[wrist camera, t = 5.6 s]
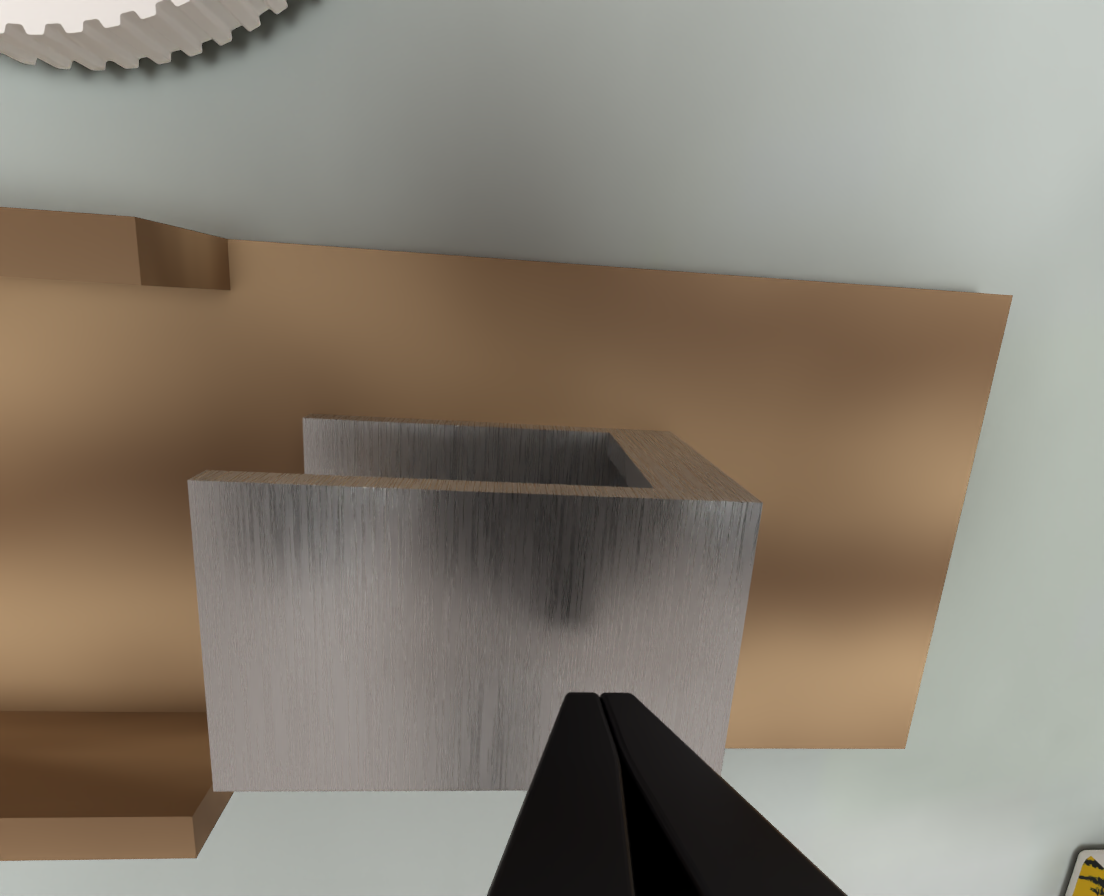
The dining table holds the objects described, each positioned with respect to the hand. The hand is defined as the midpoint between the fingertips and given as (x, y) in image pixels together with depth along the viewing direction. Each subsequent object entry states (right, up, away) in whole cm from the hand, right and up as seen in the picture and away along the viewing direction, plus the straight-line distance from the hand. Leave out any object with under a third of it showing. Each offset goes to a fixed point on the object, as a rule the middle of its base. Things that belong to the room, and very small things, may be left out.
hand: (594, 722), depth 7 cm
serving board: (-5, +2, +7) cm, 8 cm away
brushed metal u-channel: (+2, +1, +4) cm, 5 cm away
